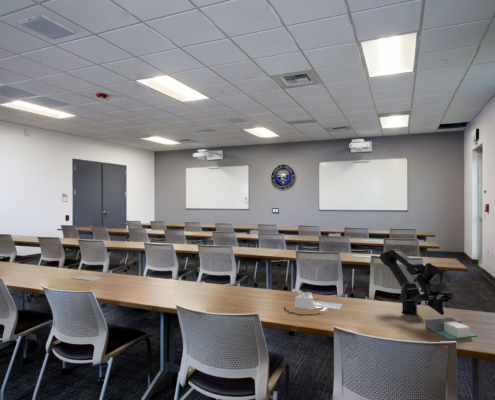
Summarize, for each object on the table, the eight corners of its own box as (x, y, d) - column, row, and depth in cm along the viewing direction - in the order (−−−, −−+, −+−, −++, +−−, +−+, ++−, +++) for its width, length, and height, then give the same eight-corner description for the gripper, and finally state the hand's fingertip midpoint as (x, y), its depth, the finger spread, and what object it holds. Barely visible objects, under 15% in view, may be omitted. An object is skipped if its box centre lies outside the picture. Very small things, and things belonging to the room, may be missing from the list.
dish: (324, 317, 180) (323, 296, 181) (279, 313, 190) (278, 292, 190) (331, 304, 203) (330, 285, 204) (290, 301, 213) (290, 283, 213)
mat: (436, 332, 155) (436, 331, 155) (462, 329, 158) (462, 328, 158) (449, 339, 147) (449, 338, 147) (477, 336, 150) (477, 335, 150)
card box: (443, 322, 156) (457, 328, 148) (455, 321, 157) (469, 327, 149) (444, 331, 156) (458, 337, 148) (455, 329, 157) (469, 336, 149)
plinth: (425, 327, 162) (425, 318, 162) (450, 324, 165) (450, 316, 165) (435, 332, 156) (435, 323, 156) (461, 329, 158) (461, 320, 158)
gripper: (417, 277, 164) (434, 308, 153) (450, 275, 167) (469, 304, 156) (406, 289, 171) (422, 319, 161) (438, 287, 175) (456, 315, 164)
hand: (442, 314), depth 160 cm, fingers closed
